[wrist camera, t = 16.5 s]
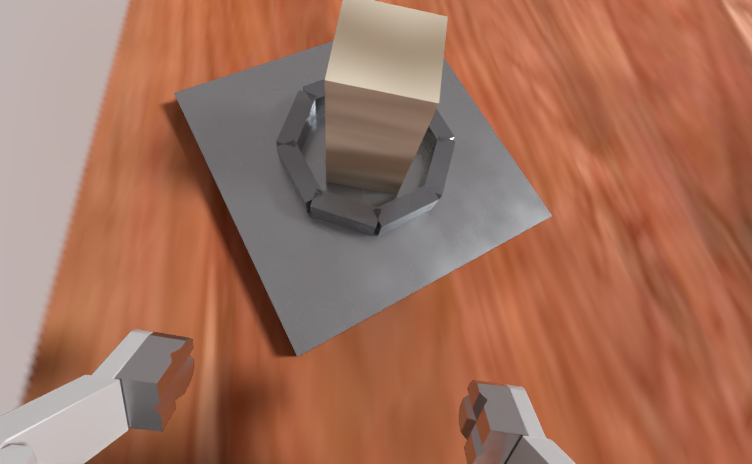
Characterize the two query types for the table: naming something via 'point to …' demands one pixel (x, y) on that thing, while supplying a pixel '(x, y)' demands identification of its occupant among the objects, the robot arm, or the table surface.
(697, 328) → the table surface
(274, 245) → the grey square socket board
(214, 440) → the table surface
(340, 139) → the birch block
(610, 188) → the table surface
